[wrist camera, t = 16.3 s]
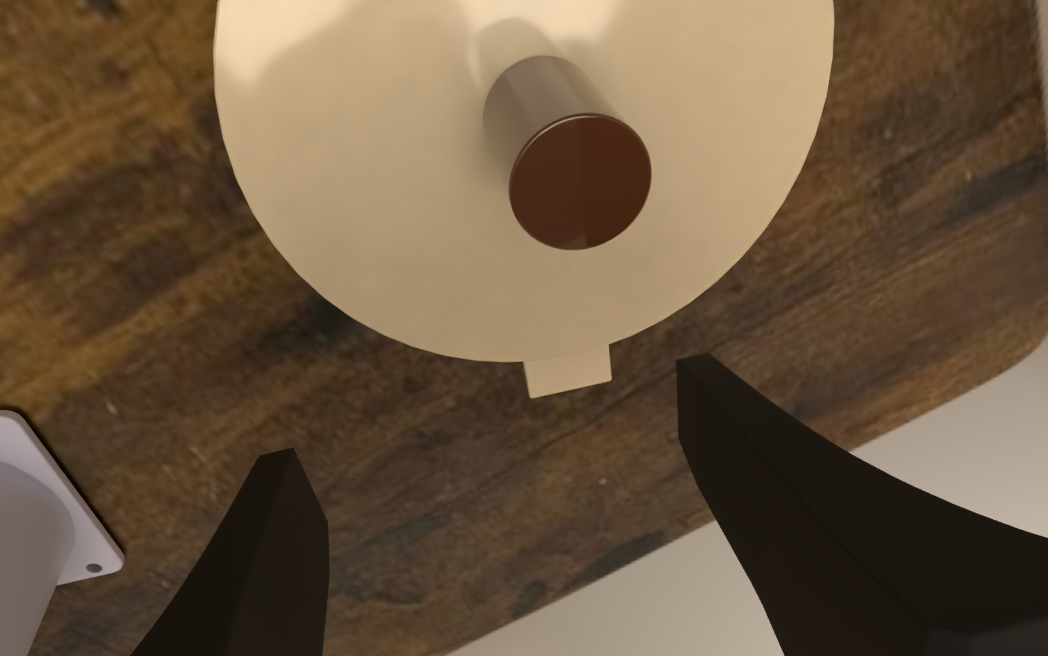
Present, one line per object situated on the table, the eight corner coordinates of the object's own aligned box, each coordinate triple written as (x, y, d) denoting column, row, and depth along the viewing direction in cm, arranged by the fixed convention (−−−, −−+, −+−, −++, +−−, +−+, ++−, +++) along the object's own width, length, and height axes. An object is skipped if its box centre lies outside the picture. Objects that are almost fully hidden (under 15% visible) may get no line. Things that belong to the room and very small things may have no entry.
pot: (371, 336, 24) (371, 453, 20) (149, -342, 14) (49, -416, 10) (703, 265, 25) (776, 362, 20) (706, -430, 15) (847, -535, 11)
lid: (329, 382, 19) (319, 519, 15) (102, -207, 12) (-25, -220, 8) (788, 282, 20) (886, 390, 16) (839, -331, 12) (1041, -398, 9)
